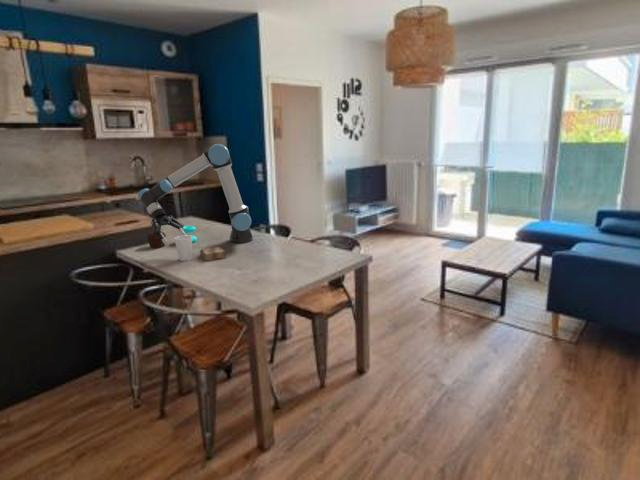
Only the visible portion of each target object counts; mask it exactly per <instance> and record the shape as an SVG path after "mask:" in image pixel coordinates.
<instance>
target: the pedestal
mask: <svg viewBox="0 0 640 480" xmlns="http://www.w3.org/2000/svg"><path fill="white" fill-rule="evenodd" d="M199 250H200V249H199ZM199 253H200V257H201V258H202V259H203V260H204V261H205V262H208V261H209V262H210V261H216V260H222V259H226V258H227V252H226V251H225V250H224V249H223V248H222V247H220V246H216V247H215V246H214V247H209V248H208V247H207V248H201V250H200V251H199Z"/></svg>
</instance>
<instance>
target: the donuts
mask: <svg viewBox="0 0 640 480" xmlns="http://www.w3.org/2000/svg"><path fill="white" fill-rule="evenodd" d="M183 229H184V231H185V234H191V233H194V232H196V230H197V228H196V227H195V226H194V225H184V227H183ZM189 236H192V244H194V243H196V242H197V240H198V237H196V235H193V234H192V235H189Z"/></svg>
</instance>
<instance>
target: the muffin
mask: <svg viewBox="0 0 640 480" xmlns="http://www.w3.org/2000/svg"><path fill="white" fill-rule="evenodd" d="M160 233H162V234H163V235H164V237H165V238H166V236H167V235H166V233H165V232H163V231H162V230H160ZM146 239H147V241H148V244H149V247H150V248H151V249H161V248H164V247H165V246H166V245H165V244H164V243H163V241H162V240H160V239H159V237H158V236H156V235H153V231H151V232H149V233H148V234H147V236H146ZM150 248H149V249H150Z"/></svg>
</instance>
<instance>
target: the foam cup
mask: <svg viewBox="0 0 640 480" xmlns="http://www.w3.org/2000/svg"><path fill="white" fill-rule="evenodd" d="M192 236H193V235H192ZM192 236H189V235H188V234H186V235H183V236H182V235H178V236H175V237H174V243H175V248H176V250H177V255H178V258H179V261H181V262H187V261H190V260H191V259H192V252H193V251H192V250H193V249H192V247H193V243H192Z"/></svg>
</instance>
